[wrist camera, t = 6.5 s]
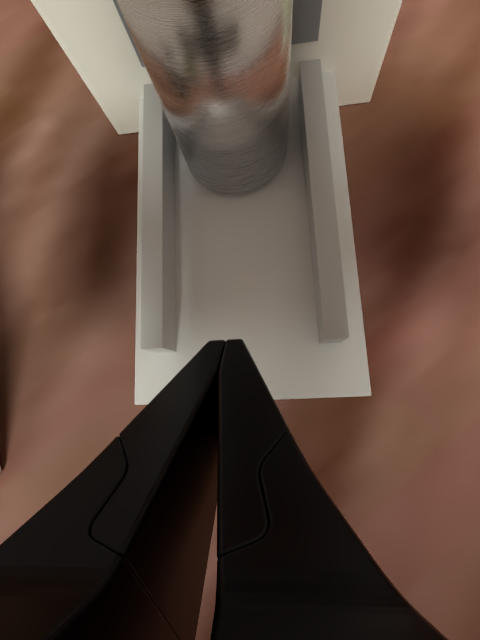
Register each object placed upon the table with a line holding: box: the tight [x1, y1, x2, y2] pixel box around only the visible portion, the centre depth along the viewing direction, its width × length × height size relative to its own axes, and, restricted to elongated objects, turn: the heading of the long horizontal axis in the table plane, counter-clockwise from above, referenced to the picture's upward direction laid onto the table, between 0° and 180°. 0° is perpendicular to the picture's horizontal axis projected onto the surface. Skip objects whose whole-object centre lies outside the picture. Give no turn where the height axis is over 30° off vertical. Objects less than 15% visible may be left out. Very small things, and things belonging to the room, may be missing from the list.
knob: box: [116, 0, 293, 194], centre depth 9 cm, size 6×6×10 cm
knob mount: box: [31, 0, 402, 405], centre depth 11 cm, size 19×13×10 cm
